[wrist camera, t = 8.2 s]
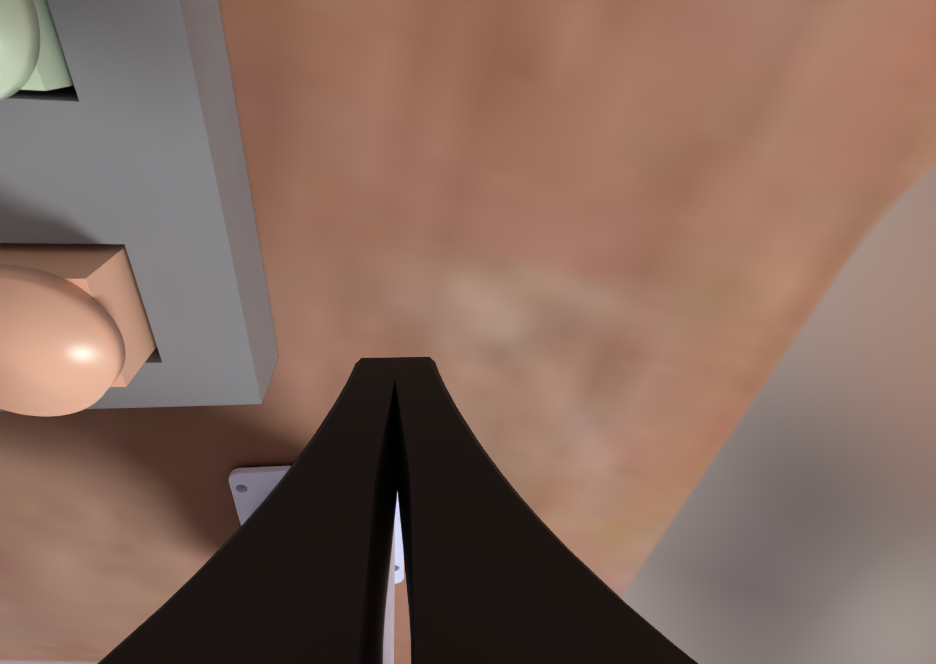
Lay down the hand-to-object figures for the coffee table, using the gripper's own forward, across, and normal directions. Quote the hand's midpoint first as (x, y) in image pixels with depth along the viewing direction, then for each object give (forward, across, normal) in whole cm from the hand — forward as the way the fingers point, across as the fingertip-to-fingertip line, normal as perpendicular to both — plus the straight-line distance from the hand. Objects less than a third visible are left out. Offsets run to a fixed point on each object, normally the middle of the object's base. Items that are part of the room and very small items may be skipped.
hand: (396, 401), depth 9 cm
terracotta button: (+9, +10, +2) cm, 14 cm away
